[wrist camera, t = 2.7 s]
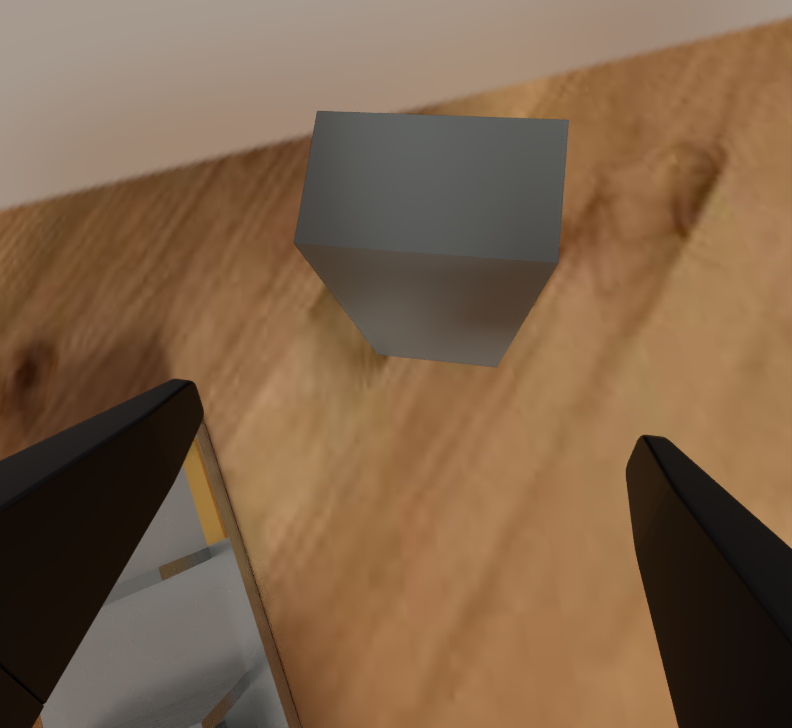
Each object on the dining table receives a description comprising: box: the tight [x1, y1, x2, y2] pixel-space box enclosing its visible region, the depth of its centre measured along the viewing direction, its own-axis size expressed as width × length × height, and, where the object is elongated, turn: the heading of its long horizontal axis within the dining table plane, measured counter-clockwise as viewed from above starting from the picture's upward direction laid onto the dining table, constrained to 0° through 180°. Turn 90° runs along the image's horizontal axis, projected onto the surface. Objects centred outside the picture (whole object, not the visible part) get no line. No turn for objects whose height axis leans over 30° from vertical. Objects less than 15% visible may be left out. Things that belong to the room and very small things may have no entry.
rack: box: [40, 424, 301, 728], centre depth 18 cm, size 16×10×5 cm, turn 23°
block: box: [294, 111, 569, 367], centre depth 16 cm, size 3×6×12 cm, turn 83°
